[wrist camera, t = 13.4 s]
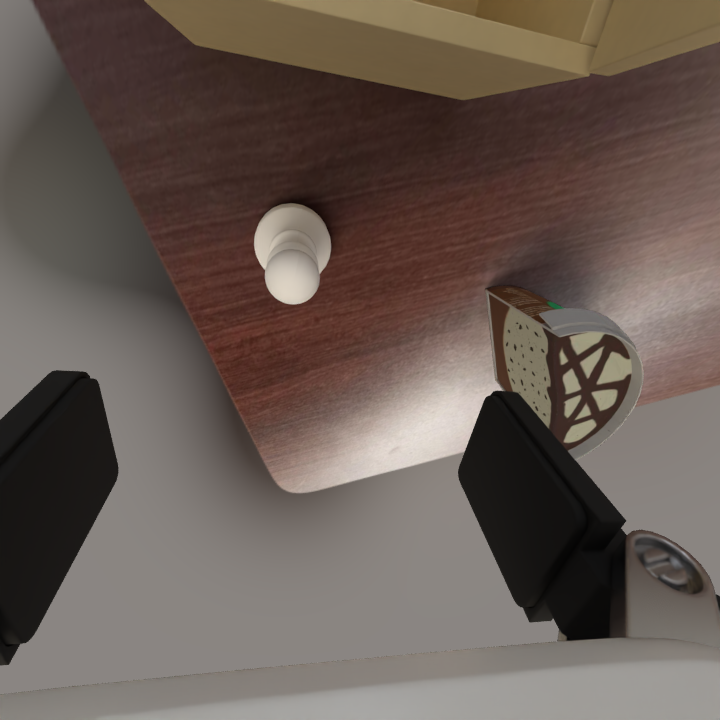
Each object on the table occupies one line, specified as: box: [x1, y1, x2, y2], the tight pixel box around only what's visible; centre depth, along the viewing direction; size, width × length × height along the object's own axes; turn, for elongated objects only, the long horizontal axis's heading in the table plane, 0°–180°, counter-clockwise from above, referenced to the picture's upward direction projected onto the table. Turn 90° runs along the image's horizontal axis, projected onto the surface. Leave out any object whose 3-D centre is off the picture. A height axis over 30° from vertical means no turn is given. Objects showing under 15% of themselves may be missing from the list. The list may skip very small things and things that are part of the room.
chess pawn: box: [254, 203, 331, 304], centre depth 22 cm, size 5×5×9 cm
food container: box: [485, 285, 644, 460], centre depth 28 cm, size 12×6×10 cm, turn 16°
